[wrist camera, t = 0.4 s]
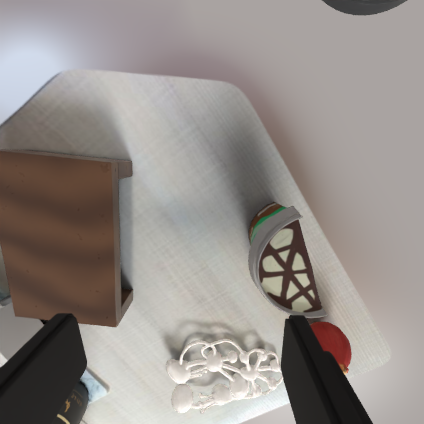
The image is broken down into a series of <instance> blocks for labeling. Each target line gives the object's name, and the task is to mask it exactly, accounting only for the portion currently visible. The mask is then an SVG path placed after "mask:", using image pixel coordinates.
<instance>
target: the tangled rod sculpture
mask: <svg viewBox="0 0 424 424" xmlns="http://www.w3.org/2000/svg"><path fill="white" fill-rule="evenodd" d="M223 342H229V343H231V344H233V345H234V346H235V347H236V348H238V350H239V351H240V354H239V359H240V361H241V362H243V363H246V366H245V367H242V368H240V369H238V368H236V367H233V366H230V365H227V364H225V363H222V362H223V361H227V360H229V362H231V363H235V362H236V361H237V358H238V356H237V353H236V352H235V351H233V350H232V351H229V353H228V355H227V356H225V357H222V356H221V354H220V353H219V352H218V351H216V348H215V346H214V345H216V344H219V343H223ZM195 344H204V345H205V346H204V347H202V349H201V354H202V356H203V357H204V358H205V359H198V360H193V361H190V362H188V361H185V360H182V359H183V356H184V354H185V352H186V351H187V349H188V348H189V347H191V346H192V345H195ZM208 347H211V348H212V349H213V350H211V351H209V352H208V353H207V355H206V354H205V353H204V350H205V349H206V348H208ZM255 351H258V352H257V356H258V359H257V361H256V363H255V365H250V364H249V355H250V354H251V353H253V352H255ZM270 354H272V355H274V356H275V358H276V360H271V361H270V364H269V365H267V366H259V364H260V362H261V360H262V361H264V360H266V359H267V355H270ZM166 365H167V372H168V374H169V376H170V377H171V378H172V379H173V380H174V381H175V382H176V383H178V384H179V385H178V386H177V387H176V388H175V389H174V391H173V393H172V398H171V402H172V406H173V408H174V409H175V410H176V411H177V412H179V413H184V412H186V411H187V410H189V408H194V409H201V408H202V409H201V410H200V412H201V414H203V413H204V412H205V411H206V410H207V409H209V408H210V407H212V406H213V405H215V404H218V405H223V404H226V403H229V402H230V401H231V400H239V399H242V398H243V399H252V398H255V397H258V396H259V395H267V394H269V393H270V392H271V391H272V390H275V389H276V388H277V385H278V384H280V383H281V382H282V381H283V376H282V372H281V369H280V365H279V363H278V356H277V354H276V353H275V352H273V351H268V352H266V350H265V349H263V348H261V349H258V348H254V349H252V350H250V351H248V352H247V351H244V350H242V349H241V348H240V347H239V346H238V345H237V344H236V343H235V342H234V341H232V340H230V339H221V340H217V341H214V342H211V343H209V342H206V341H201V340H198V341H193V342H191V343H189V344H188V345H187V346H186V347H185V349H184V350H183V351H182V353H181V356H180V360H174V359H170V360H168V361H167V364H166ZM194 365H204V366H203V367H201V368H200V369H196V370H191V366H194ZM221 367H224V368H226V369H229V370H232V371H235V372H237V373H235V374H234V375H233V376H231V375H230V374H228V373H227V372H226V371H225V370H224V369H222V368H221ZM207 369H208V370H210V371H211V372H217V371H218V370H219V371H220V372H221V373H222V374H223V375H225V376H226V377H227V378H228V379H230V382H229V385H230V389H229V388H228V387H227V386H226V385H223V384H217V385H216V386H214V387H213V389H212V394H211V395H202V393H199V398H210V397H212V398H210V399H208V400H206V401H204V402H201V401H199V402H198V403H192V402H193V392H192V389H191V387H190V386H189V385H187V384H183V383H185V382H186V381H187V380H188V379H193V378H195V377H197V376H202V373H204V374H206V373H207ZM201 370H202V371H201ZM264 370H272V371H274V372H277V371H279V372H280V374H281V378H280V380H279V381H276V379H275V378H273V377H269V378H266V377H264V376H263V375H261V374H260V373H258V371H264ZM198 371H199V372H198ZM195 372H197V373H195ZM257 377H259V378H260V379H262V380H264V381H265V382H267V385H268V387H269V388H270V389H269V390H268V391H266V392H261V388H260V386H259V385H258V384H256V383H255V381H254V380H255V379H256V378H257ZM248 380H250V381H251V383H252V386H251V392H252V393H250V394H248V390H249V383H248ZM230 390H231V391H230ZM231 392H232V393H231ZM232 394H233V395H232ZM209 404H210V405H209ZM208 405H209V406H208ZM206 406H208V407H206ZM203 407H206V408H205V409H203Z"/></svg>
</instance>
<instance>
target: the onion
mask: <svg viewBox="0 0 424 424" xmlns="http://www.w3.org/2000/svg"><path fill="white" fill-rule="evenodd" d="M310 326H311V328H312V330H313V332H314V334H315V336H316V337H317V339H318V341H319V343H320V345H321V347H322V348H323V350H324V351H329V352H331V353H332V354H333V356H334V357H335V359H336V361H337V362H338V364H339V366H340V368H341V369H342V371H343V373H344V374H347V373H348V370H349V369H348V368H347V367H348V365H349V364H350V360H351V347H350V343H349V340H348V339H347V337H346V336H345V334H344V333H343V332H342V331H341V330H340V329H339V328H338V327H337V326H335V325H333V324H331V323H329V322H313V323H312V324H311V325H310Z"/></svg>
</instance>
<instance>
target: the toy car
mask: <svg viewBox="0 0 424 424" xmlns="http://www.w3.org/2000/svg"><path fill="white" fill-rule="evenodd" d="M43 326H44V324H43V323H42V322H41V321H40V320H39V319H34V318H24V317H15V314H14V309H13V304H12V299H11V294H10V295H9V296H7V297H6V298H4V299H3V300H1V301H0V368H1V367H2V366H3V365H4V364H5V363H6V362H7V361H8V360H9V359H10V358H11V357H12V356H13V355H14V354H15V353H16V352H17V351H18V350H19V349H20V348H21V347H22V346H23V345H24V344H25V343H27V342H28V341H29V340H30V339H31V338H32V337H33V336H34V335H35V334H36V333H37V332H38V331H39V330H40V329H41V328H42V327H43Z"/></svg>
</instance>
